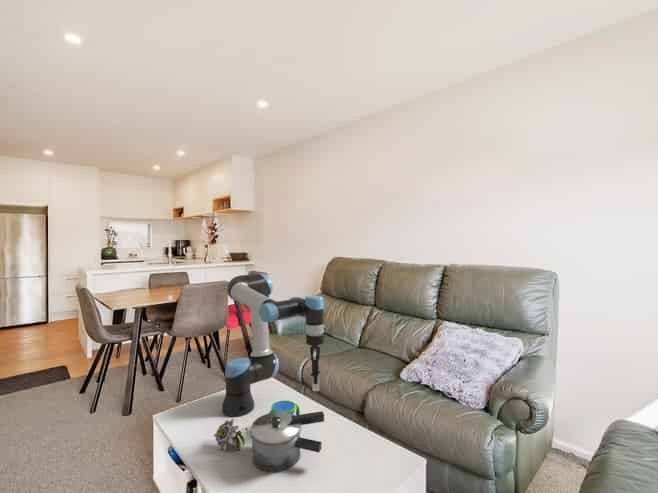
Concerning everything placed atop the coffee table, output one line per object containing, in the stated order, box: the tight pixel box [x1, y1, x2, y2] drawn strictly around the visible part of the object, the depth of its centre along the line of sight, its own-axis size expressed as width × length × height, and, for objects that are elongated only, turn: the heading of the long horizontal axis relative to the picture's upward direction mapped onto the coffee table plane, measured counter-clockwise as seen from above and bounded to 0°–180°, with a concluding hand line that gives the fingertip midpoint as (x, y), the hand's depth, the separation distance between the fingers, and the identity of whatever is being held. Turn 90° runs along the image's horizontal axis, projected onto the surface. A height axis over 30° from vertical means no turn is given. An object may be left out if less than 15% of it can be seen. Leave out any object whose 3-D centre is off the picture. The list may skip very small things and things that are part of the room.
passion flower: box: [213, 418, 249, 451], centre depth 134 cm, size 11×11×12 cm
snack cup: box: [268, 399, 301, 415], centre depth 145 cm, size 16×10×10 cm
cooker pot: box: [251, 432, 323, 474], centre depth 126 cm, size 18×27×10 cm, turn 70°
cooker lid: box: [250, 410, 325, 445], centre depth 128 cm, size 28×19×4 cm
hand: (315, 390), depth 138 cm, fingers closed
